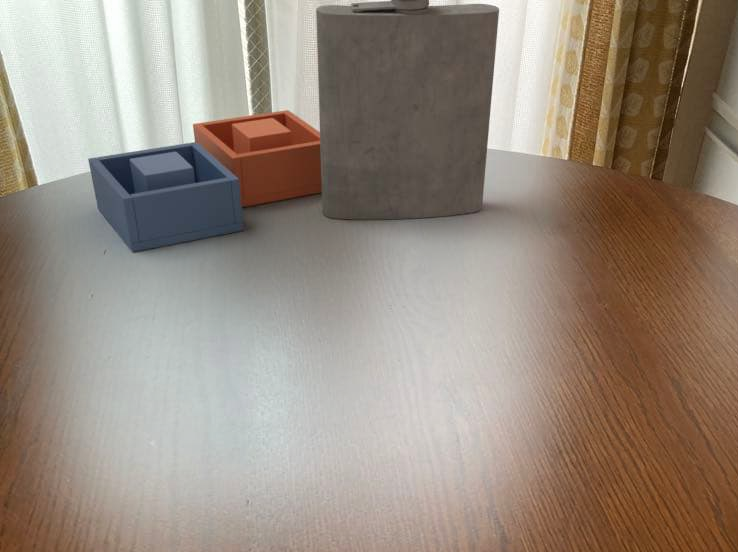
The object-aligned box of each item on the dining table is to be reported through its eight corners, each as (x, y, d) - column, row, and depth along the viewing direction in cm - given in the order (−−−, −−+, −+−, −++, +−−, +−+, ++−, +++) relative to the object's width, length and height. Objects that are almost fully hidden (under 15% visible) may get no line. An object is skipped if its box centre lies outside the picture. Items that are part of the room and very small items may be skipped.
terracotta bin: (237, 208, 90) (232, 158, 86) (198, 171, 96) (192, 123, 93) (334, 190, 94) (333, 141, 90) (290, 156, 100) (288, 109, 97)
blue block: (152, 224, 84) (144, 175, 81) (137, 207, 87) (129, 158, 84) (199, 215, 86) (193, 167, 83) (182, 198, 89) (176, 151, 86)
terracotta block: (252, 184, 92) (249, 137, 89) (235, 169, 95) (231, 123, 92) (293, 177, 94) (291, 131, 91) (275, 162, 97) (273, 117, 94)
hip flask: (477, 199, 93) (496, -30, 80) (487, 215, 90) (509, -20, 77) (320, 206, 90) (313, -29, 77) (325, 223, 88) (318, -19, 74)
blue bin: (132, 252, 82) (123, 199, 78) (97, 209, 88) (87, 158, 85) (243, 230, 86) (239, 178, 83) (202, 190, 93) (196, 141, 89)
